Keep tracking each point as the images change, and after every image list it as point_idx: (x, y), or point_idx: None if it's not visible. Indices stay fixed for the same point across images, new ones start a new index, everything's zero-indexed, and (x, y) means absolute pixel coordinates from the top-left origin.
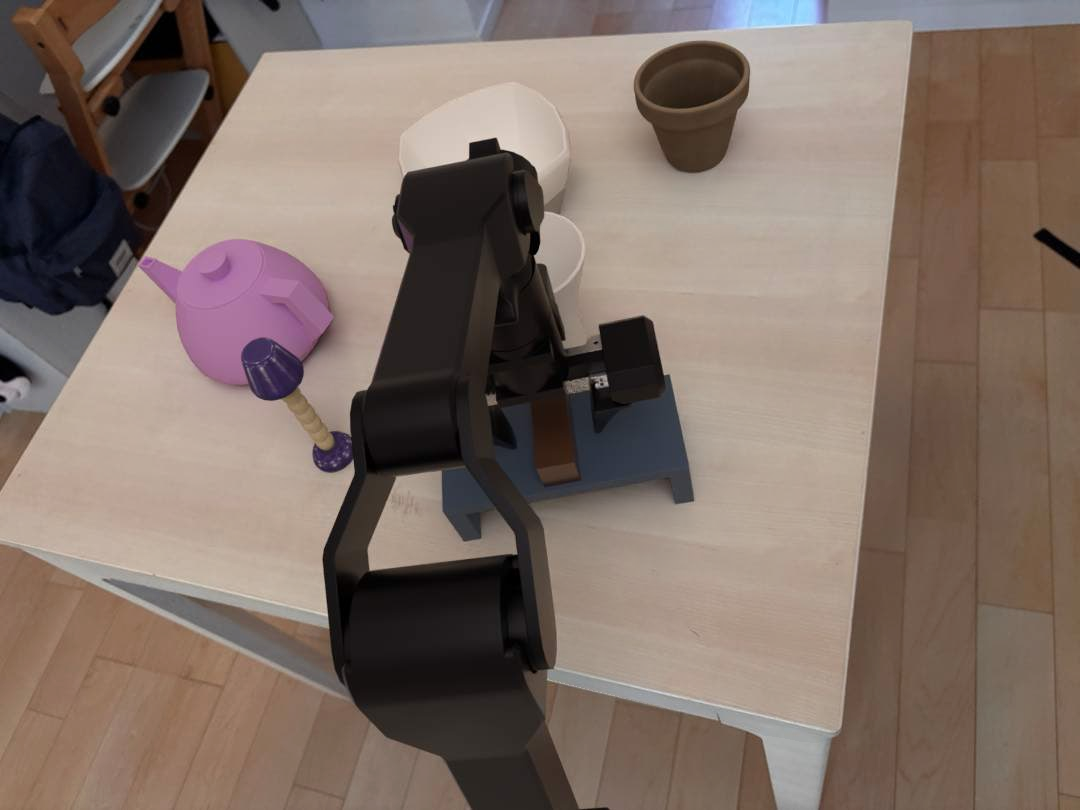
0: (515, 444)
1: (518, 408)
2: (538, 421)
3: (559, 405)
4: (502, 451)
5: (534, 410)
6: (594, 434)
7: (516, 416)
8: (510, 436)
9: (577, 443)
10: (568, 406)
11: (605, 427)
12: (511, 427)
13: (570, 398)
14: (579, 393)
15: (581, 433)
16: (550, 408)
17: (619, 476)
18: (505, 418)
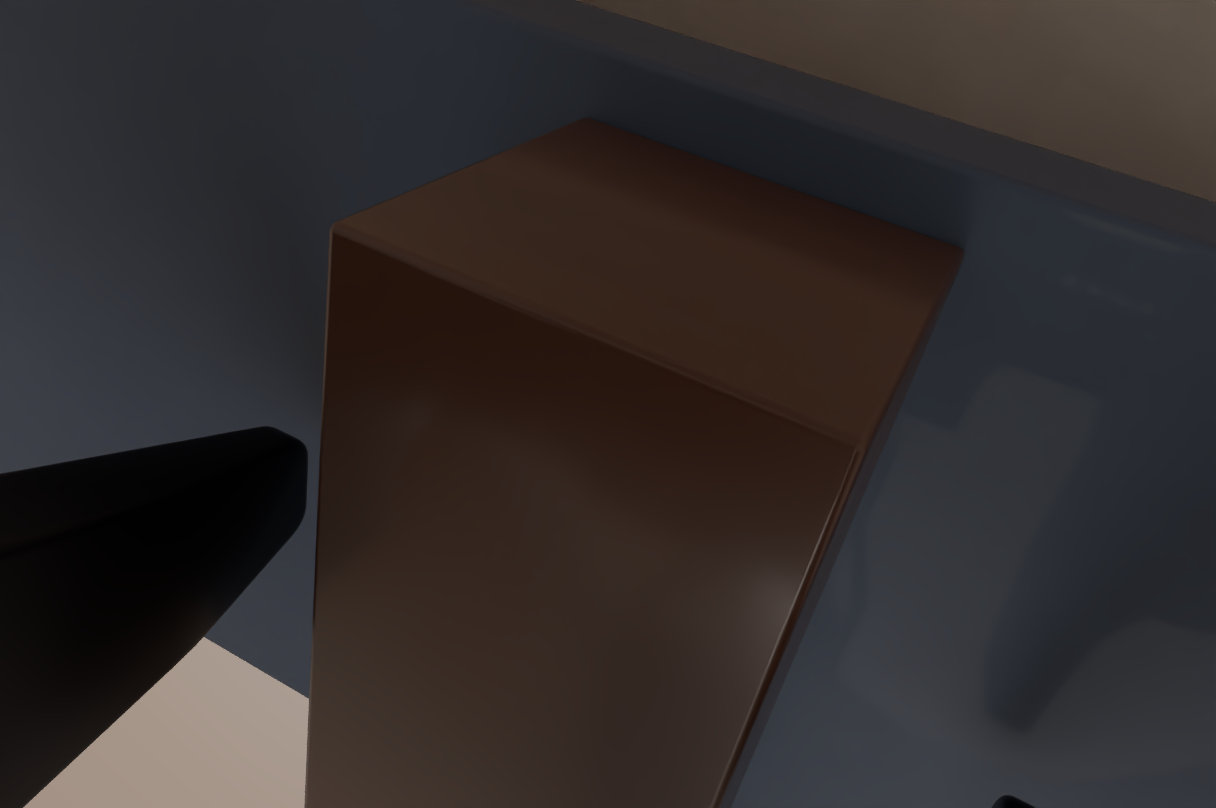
0: (273, 534)
1: (418, 57)
2: (368, 728)
3: (628, 751)
4: (257, 384)
5: (352, 595)
6: (969, 730)
7: (388, 139)
8: (146, 627)
9: (790, 690)
10: (781, 670)
11: (1110, 754)
12: (181, 509)
13: (966, 251)
14: (1110, 246)
15: (865, 650)
16: (516, 710)
17: None
18: (26, 572)
